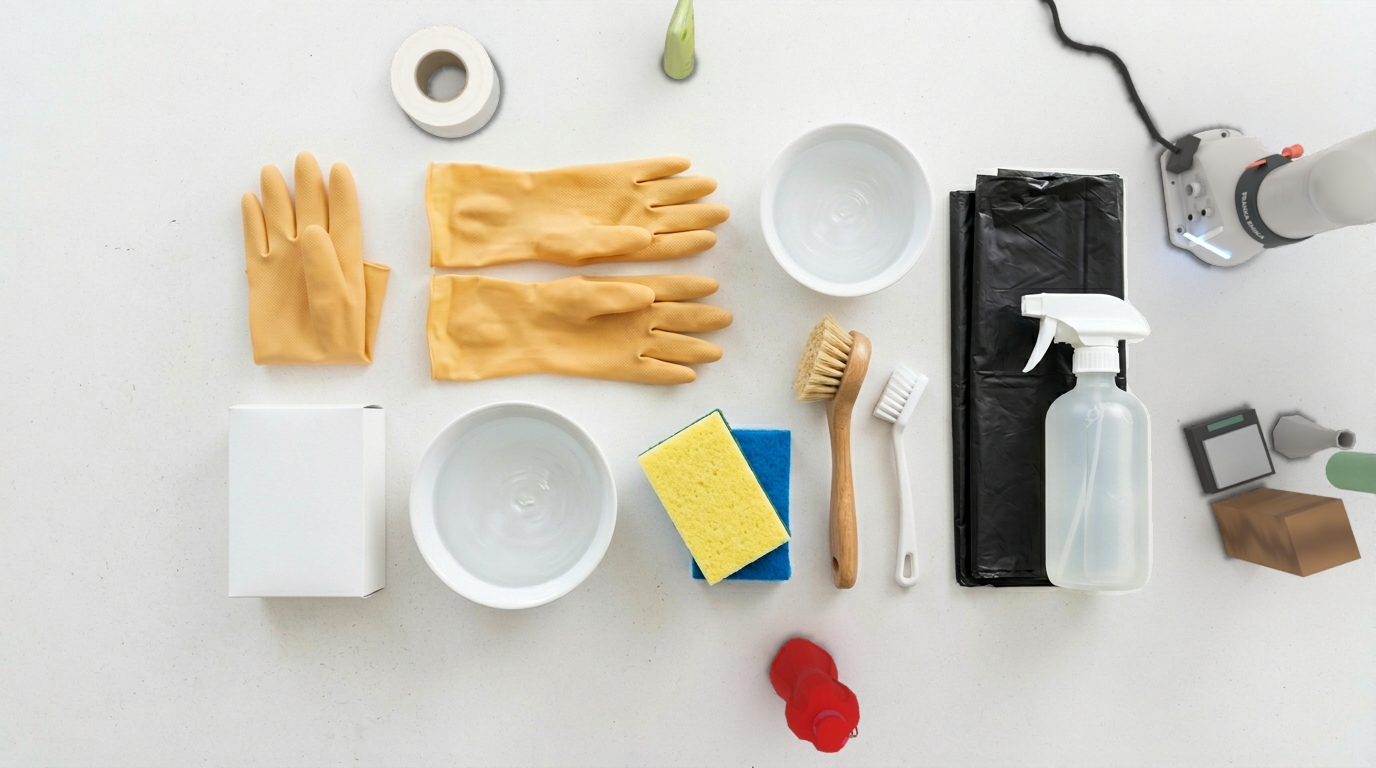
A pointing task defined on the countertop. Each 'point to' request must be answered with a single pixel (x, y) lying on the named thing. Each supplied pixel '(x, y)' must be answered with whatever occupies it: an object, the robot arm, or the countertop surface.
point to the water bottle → (814, 696)
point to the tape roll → (427, 56)
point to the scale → (1229, 451)
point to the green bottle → (1352, 471)
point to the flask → (1308, 437)
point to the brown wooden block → (1287, 530)
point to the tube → (680, 41)
